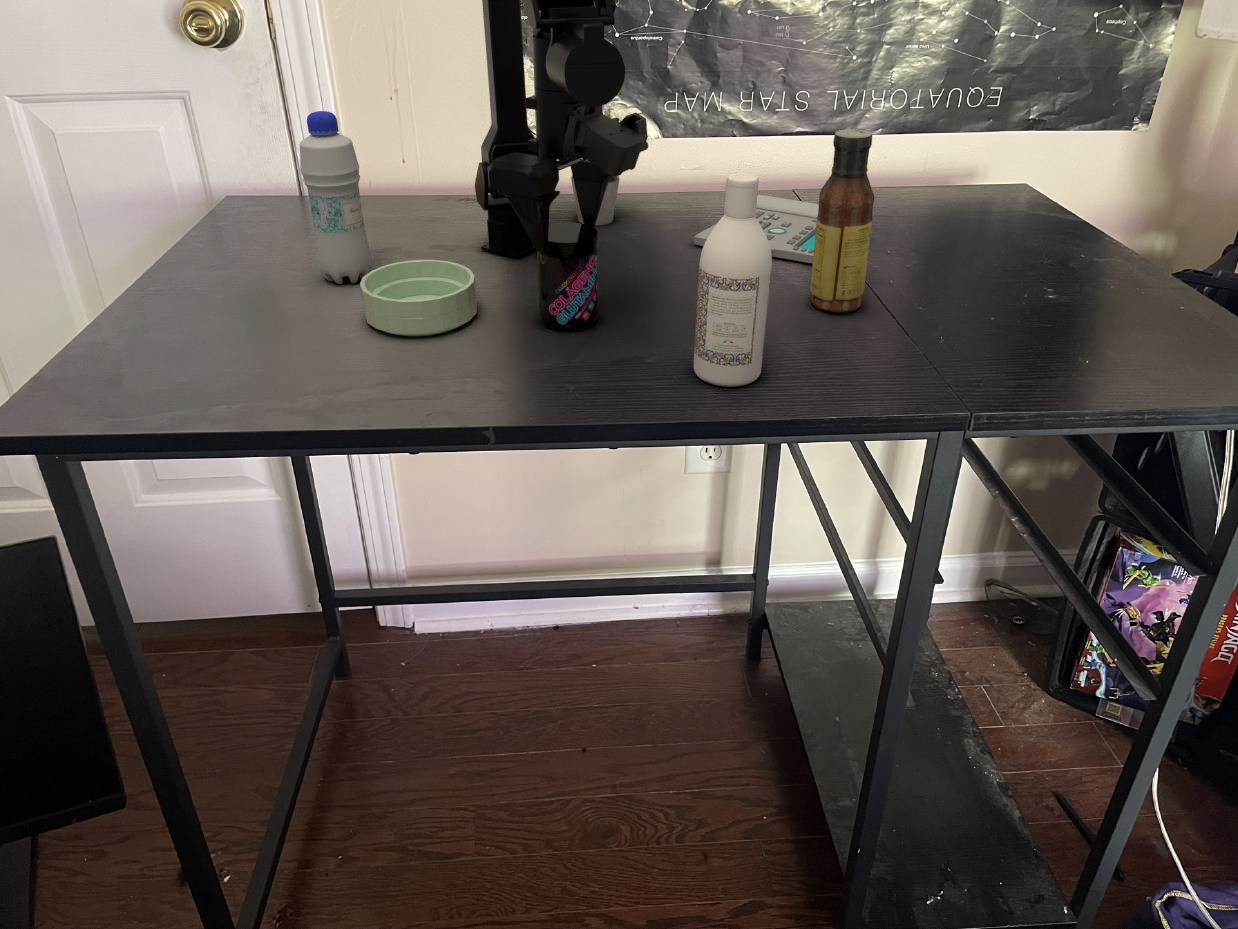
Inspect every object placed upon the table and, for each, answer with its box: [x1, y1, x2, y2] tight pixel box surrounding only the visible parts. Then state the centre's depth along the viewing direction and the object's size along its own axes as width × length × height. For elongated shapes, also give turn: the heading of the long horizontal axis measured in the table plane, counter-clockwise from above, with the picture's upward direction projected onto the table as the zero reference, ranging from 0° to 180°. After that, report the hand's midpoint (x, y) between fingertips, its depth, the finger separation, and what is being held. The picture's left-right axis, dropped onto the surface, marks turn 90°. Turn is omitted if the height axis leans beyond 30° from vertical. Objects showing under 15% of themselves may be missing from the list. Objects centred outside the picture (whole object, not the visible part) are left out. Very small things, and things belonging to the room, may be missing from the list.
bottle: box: [299, 110, 372, 285], centre depth 108 cm, size 7×7×20 cm
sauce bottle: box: [809, 128, 875, 314], centre depth 103 cm, size 7×6×20 cm
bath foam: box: [693, 172, 773, 388], centre depth 87 cm, size 7×7×20 cm
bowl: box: [359, 259, 478, 337], centre depth 103 cm, size 13×13×4 cm
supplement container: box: [536, 222, 599, 332], centre depth 100 cm, size 7×7×10 cm
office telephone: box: [693, 194, 819, 265], centre depth 128 cm, size 23×3×20 cm
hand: (566, 239), depth 98 cm, fingers open, 9 cm apart
